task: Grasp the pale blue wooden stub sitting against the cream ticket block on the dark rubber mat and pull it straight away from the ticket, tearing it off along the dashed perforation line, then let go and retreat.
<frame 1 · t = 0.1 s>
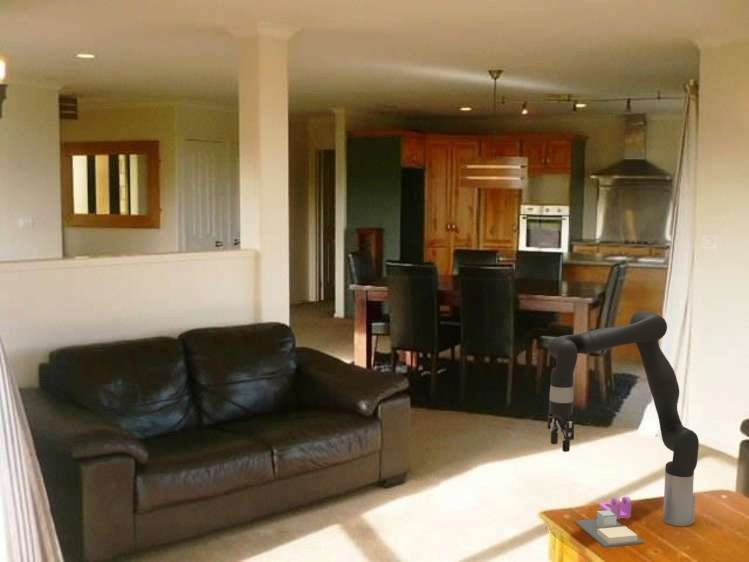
hand: (559, 447, 280), 29 cm above the table, fingers open, 8 cm apart
stub: (606, 521, 285), point 3 cm above the table, slide at 0.0 cm
bracket: (613, 512, 302), on the table
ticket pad: (608, 532, 284), on the table
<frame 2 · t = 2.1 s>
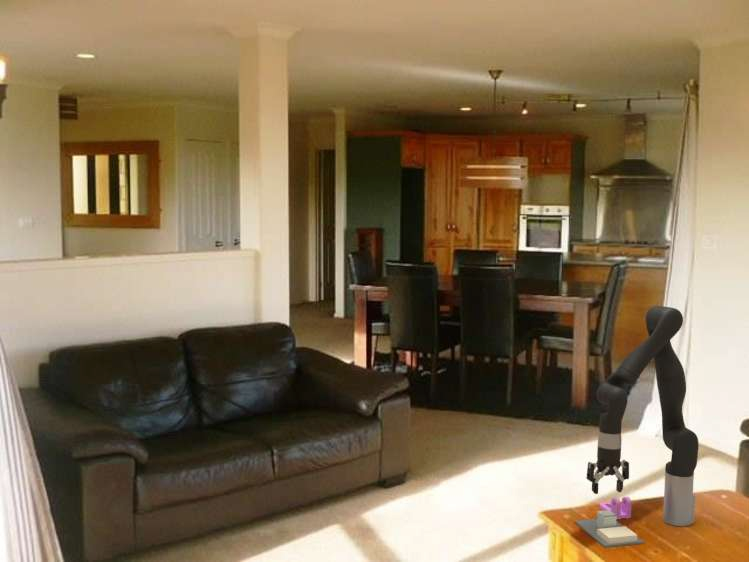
hand: (607, 492, 284), 13 cm above the table, fingers open, 8 cm apart
nothing on the table moved.
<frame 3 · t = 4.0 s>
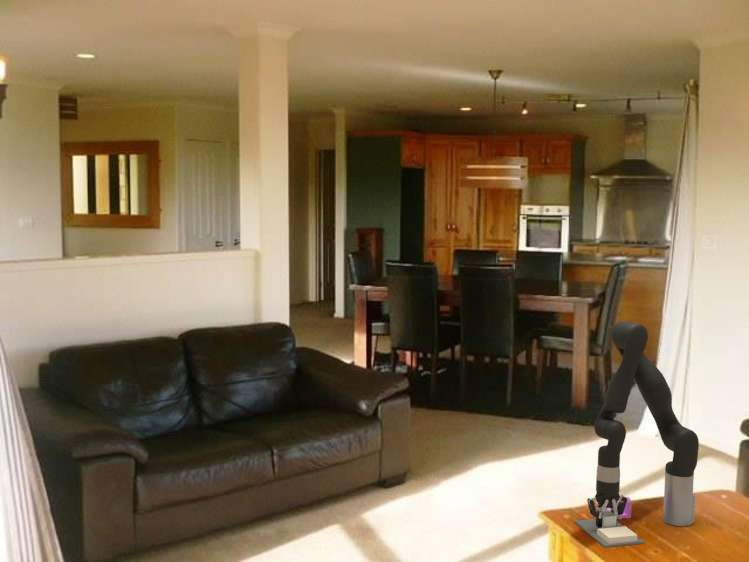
hand: (606, 527, 285), 1 cm above the table, fingers closed on stub, 4 cm apart
stub: (606, 521, 285), point 3 cm above the table, slide at 0.0 cm, touching gripper
everything else where it was.
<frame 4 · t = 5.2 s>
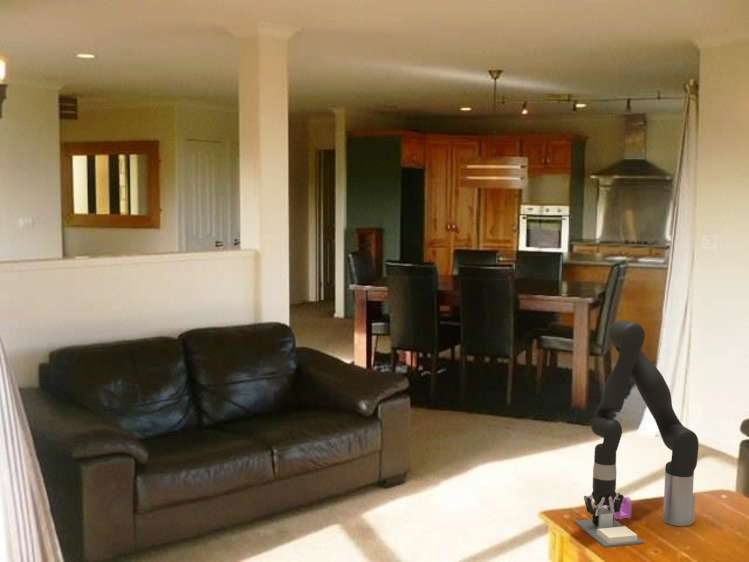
hand: (602, 524, 287), 1 cm above the table, fingers closed on stub, 4 cm apart
stub: (603, 518, 287), point 3 cm above the table, slide at 2.3 cm, touching gripper
everything else where it was.
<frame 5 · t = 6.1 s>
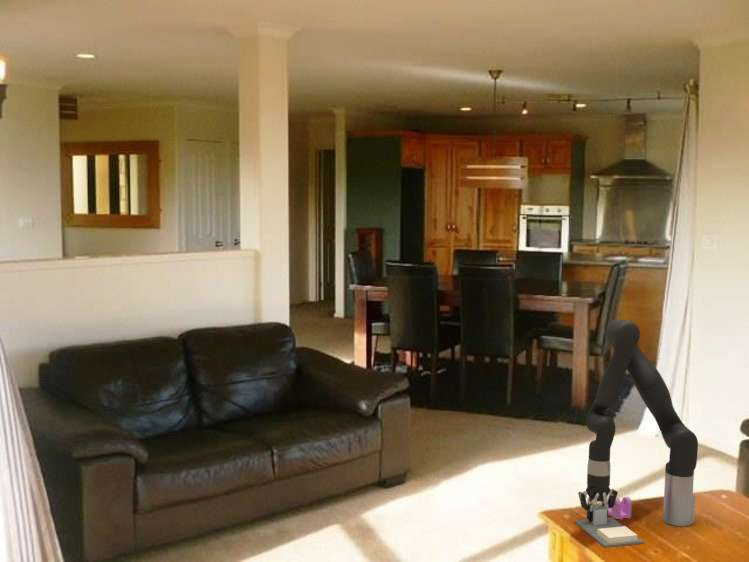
hand: (597, 520, 291), 1 cm above the table, fingers closed on stub, 4 cm apart
stub: (597, 514, 291), point 3 cm above the table, slide at 6.3 cm, touching gripper
everything else where it was.
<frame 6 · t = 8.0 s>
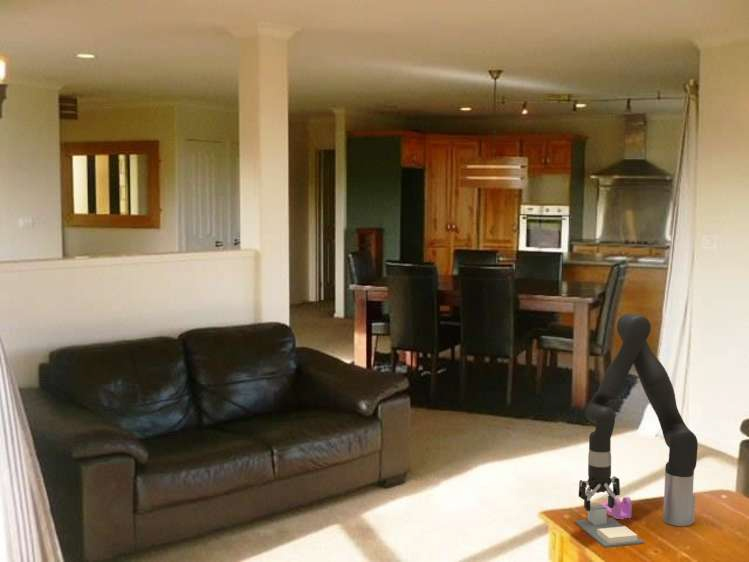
hand: (599, 508, 290), 5 cm above the table, fingers open, 8 cm apart
stub: (597, 513, 291), point 3 cm above the table, slide at 6.5 cm
everything else where it was.
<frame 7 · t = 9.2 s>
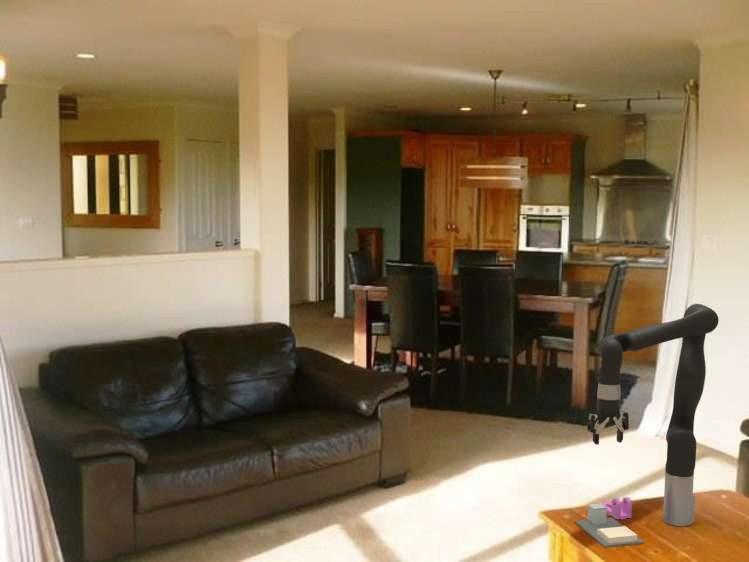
hand: (607, 443, 291), 28 cm above the table, fingers open, 8 cm apart
nothing on the table moved.
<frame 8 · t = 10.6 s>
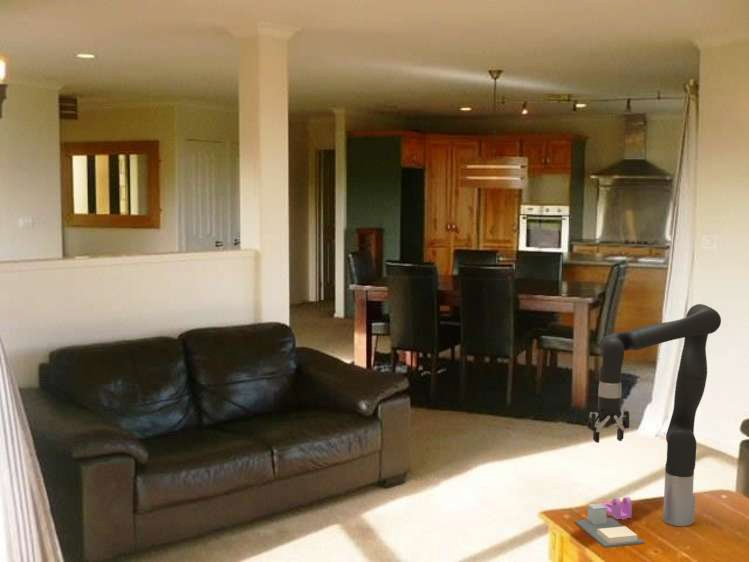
hand: (608, 441, 291), 28 cm above the table, fingers open, 8 cm apart
nothing on the table moved.
at the end: stub slide at 6.5 cm; the gripper is holding nothing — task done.
